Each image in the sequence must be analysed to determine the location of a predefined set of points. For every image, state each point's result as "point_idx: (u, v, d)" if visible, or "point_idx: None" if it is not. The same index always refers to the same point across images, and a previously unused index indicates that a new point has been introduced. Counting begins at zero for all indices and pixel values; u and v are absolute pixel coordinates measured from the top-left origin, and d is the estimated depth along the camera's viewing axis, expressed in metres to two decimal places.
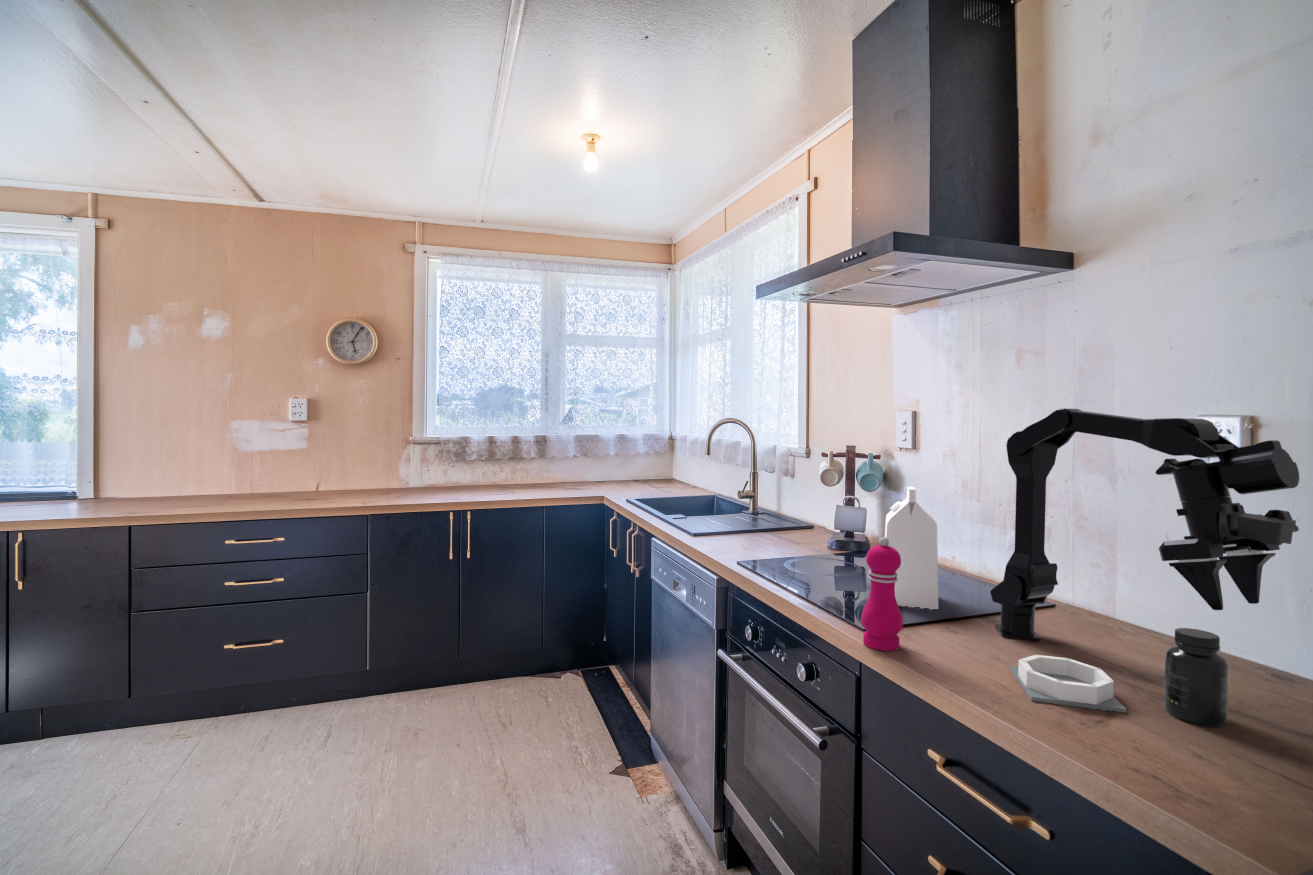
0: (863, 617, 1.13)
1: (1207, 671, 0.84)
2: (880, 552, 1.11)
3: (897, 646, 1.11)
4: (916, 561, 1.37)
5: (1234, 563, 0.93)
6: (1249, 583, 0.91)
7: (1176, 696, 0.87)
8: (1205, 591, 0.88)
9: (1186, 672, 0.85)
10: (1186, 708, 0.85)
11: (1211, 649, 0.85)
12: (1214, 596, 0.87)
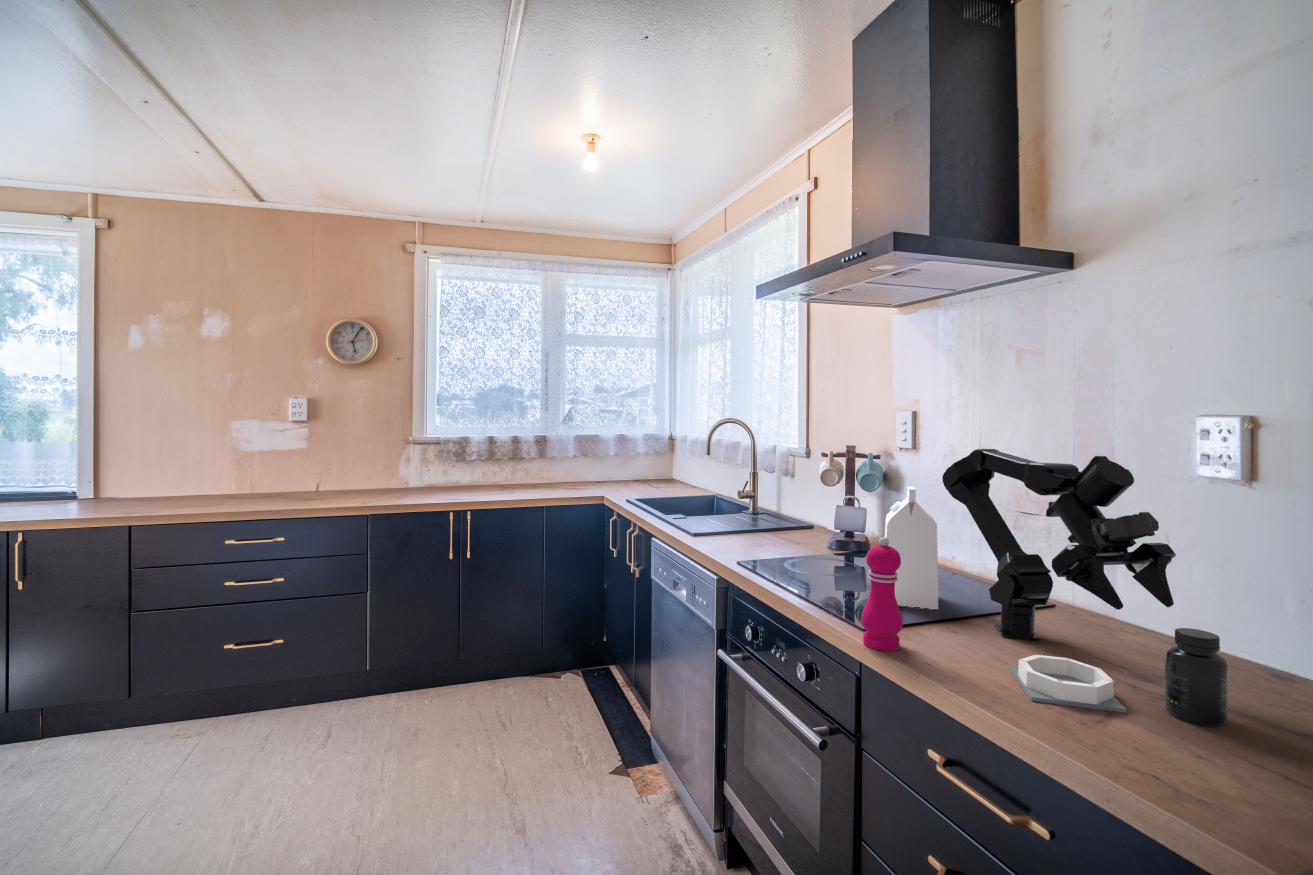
0: (863, 617, 1.13)
1: (1207, 671, 0.84)
2: (880, 552, 1.11)
3: (897, 646, 1.11)
4: (916, 561, 1.37)
5: (1143, 576, 1.00)
6: (1159, 588, 0.97)
7: (1176, 696, 0.87)
8: (1104, 594, 0.96)
9: (1186, 672, 0.85)
10: (1186, 708, 0.85)
11: (1211, 649, 0.85)
12: (1110, 595, 0.95)
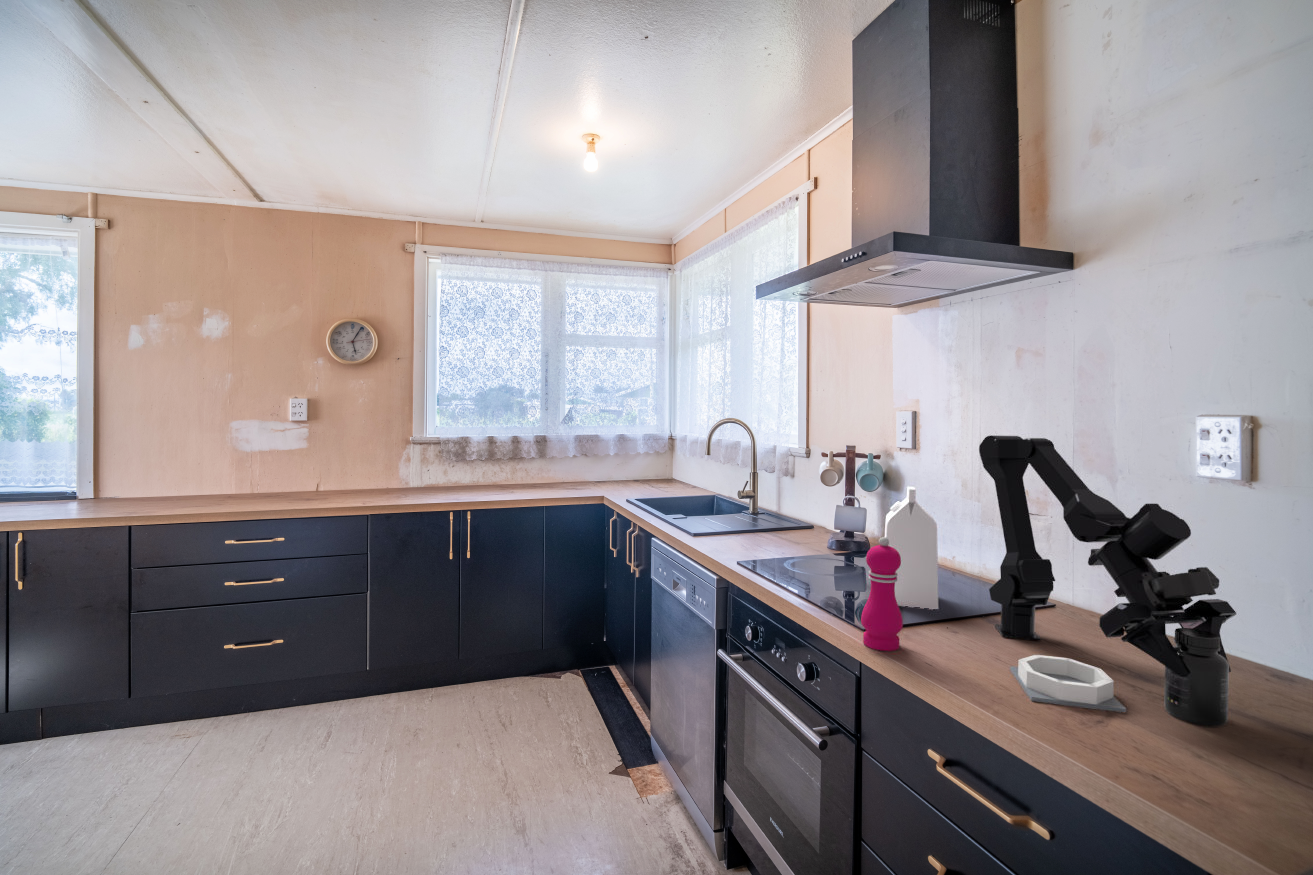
0: (863, 617, 1.13)
1: (1207, 671, 0.84)
2: (880, 552, 1.11)
3: (897, 646, 1.11)
4: (916, 561, 1.37)
5: None
6: None
7: (1176, 696, 0.87)
8: (1166, 659, 0.87)
9: None
10: (1186, 707, 0.85)
11: (1211, 649, 0.85)
12: (1173, 661, 0.86)
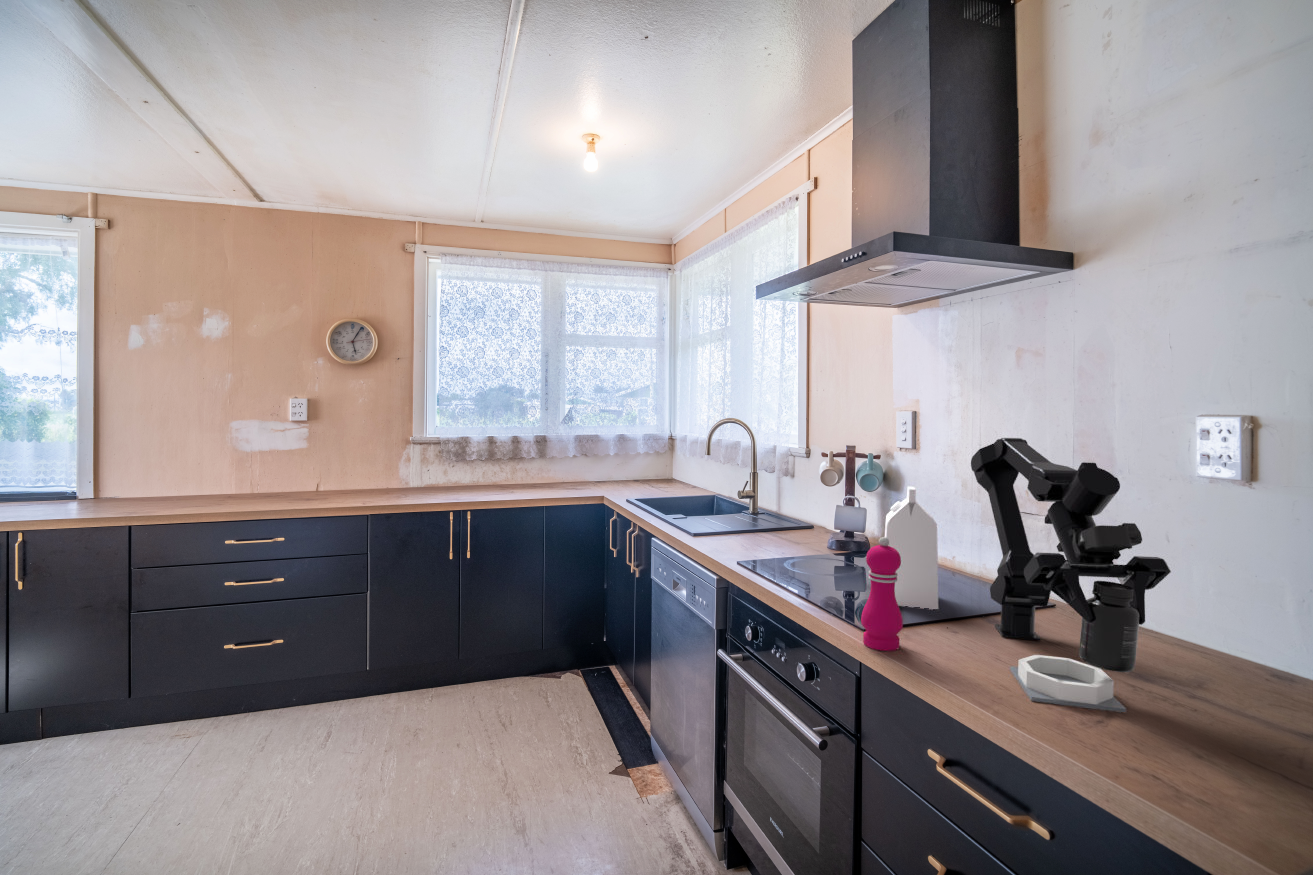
0: (863, 617, 1.13)
1: (1110, 617, 0.89)
2: (880, 552, 1.11)
3: (897, 646, 1.11)
4: (916, 561, 1.37)
5: None
6: (1134, 604, 0.92)
7: (1084, 640, 0.92)
8: (1077, 605, 0.93)
9: None
10: (1090, 651, 0.91)
11: (1119, 599, 0.89)
12: (1081, 607, 0.92)
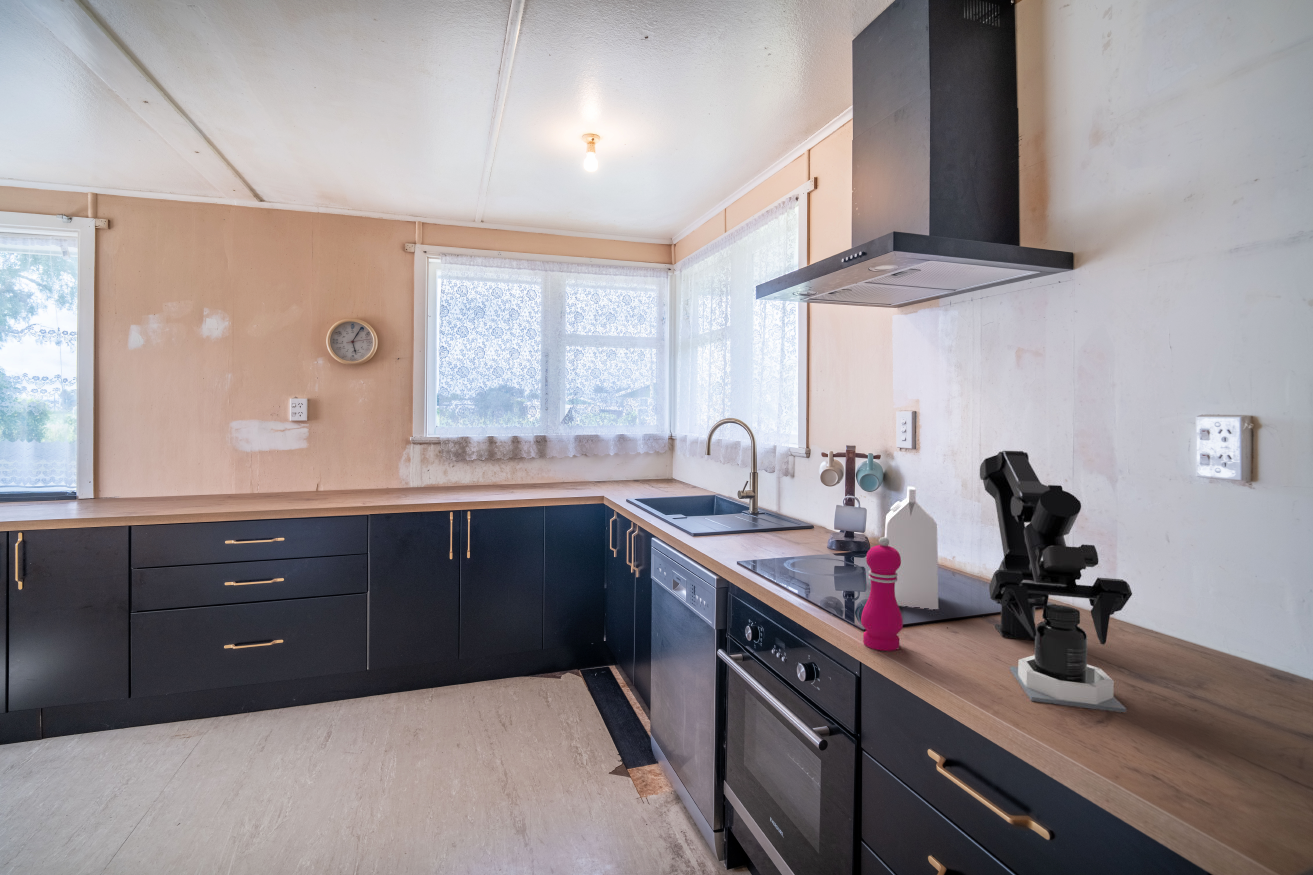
0: (863, 617, 1.13)
1: (1054, 640, 0.93)
2: (880, 552, 1.11)
3: (897, 646, 1.11)
4: (916, 561, 1.37)
5: (1094, 611, 0.97)
6: (1099, 624, 0.94)
7: (1035, 662, 0.96)
8: (1025, 621, 0.97)
9: (1040, 640, 0.95)
10: (1040, 672, 0.95)
11: (1062, 622, 0.93)
12: (1027, 622, 0.96)
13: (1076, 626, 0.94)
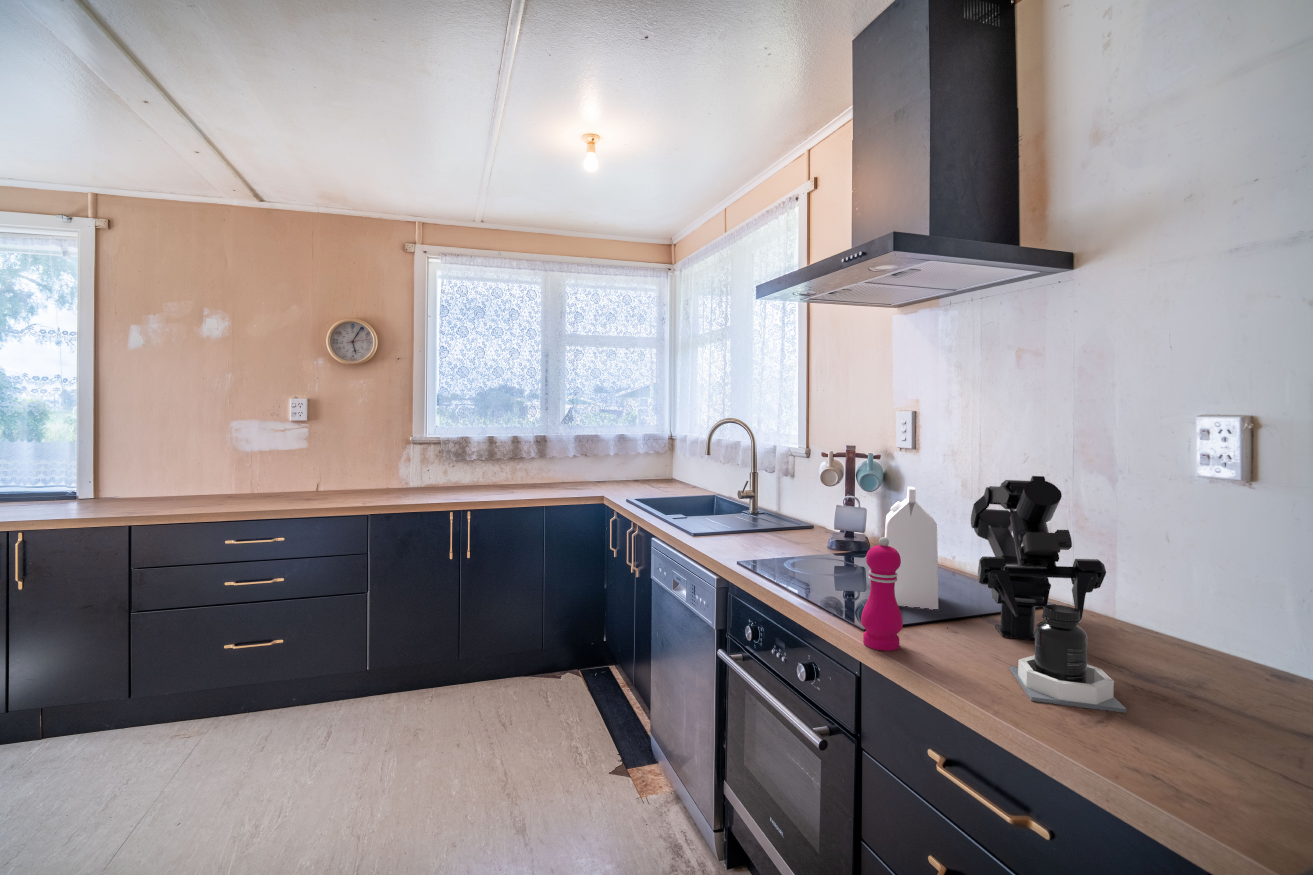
0: (863, 617, 1.13)
1: (1054, 640, 0.93)
2: (880, 552, 1.11)
3: (897, 646, 1.11)
4: (916, 560, 1.37)
5: (1074, 590, 1.06)
6: (1076, 602, 1.03)
7: (1035, 662, 0.96)
8: (1008, 602, 1.07)
9: (1040, 640, 0.95)
10: (1040, 672, 0.95)
11: (1062, 622, 0.93)
12: (1010, 603, 1.06)
13: (1076, 626, 0.94)
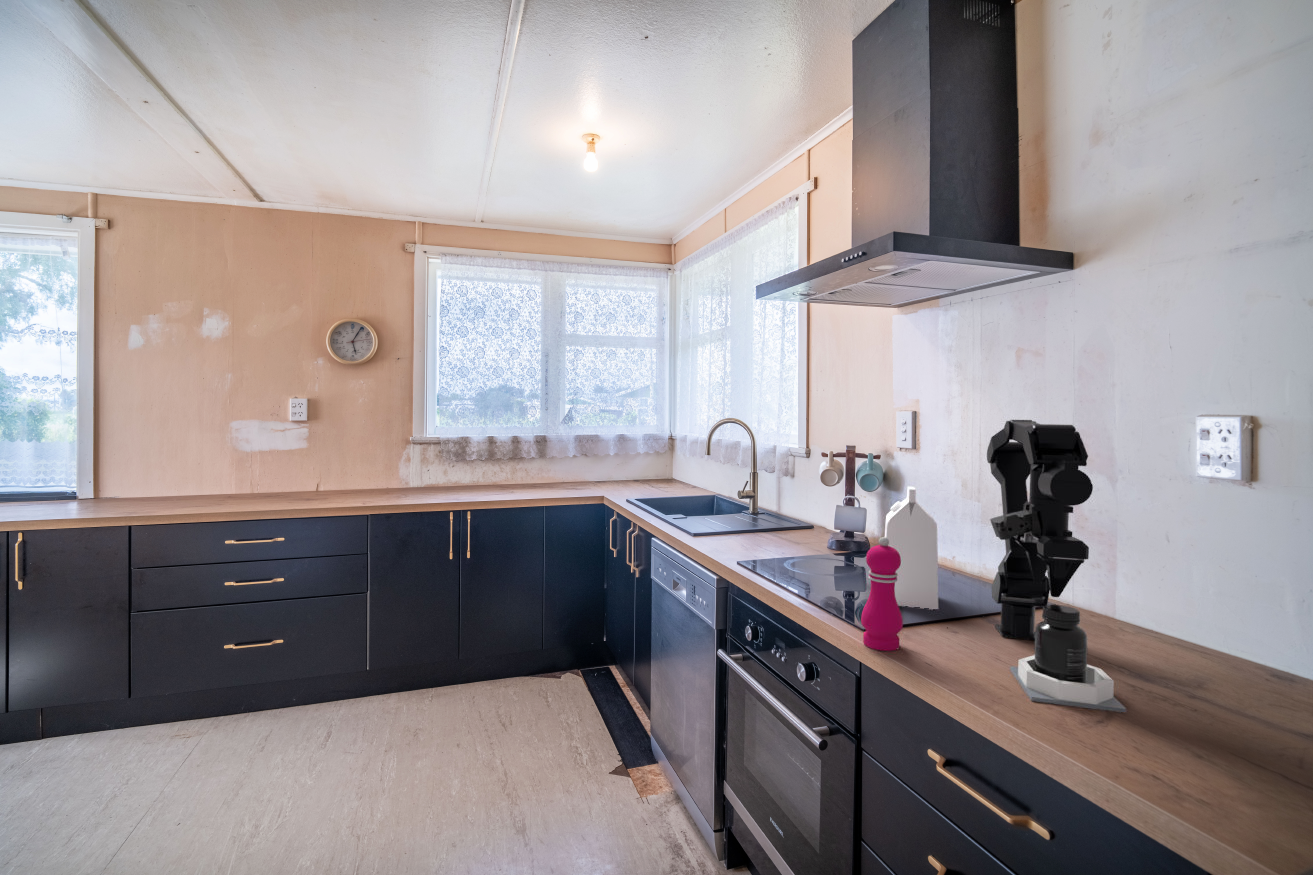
0: (863, 617, 1.13)
1: (1054, 640, 0.93)
2: (880, 552, 1.11)
3: (897, 646, 1.11)
4: (916, 560, 1.37)
5: None
6: None
7: (1035, 662, 0.96)
8: None
9: (1040, 640, 0.95)
10: (1040, 672, 0.95)
11: (1062, 622, 0.93)
12: None
13: (1076, 626, 0.94)
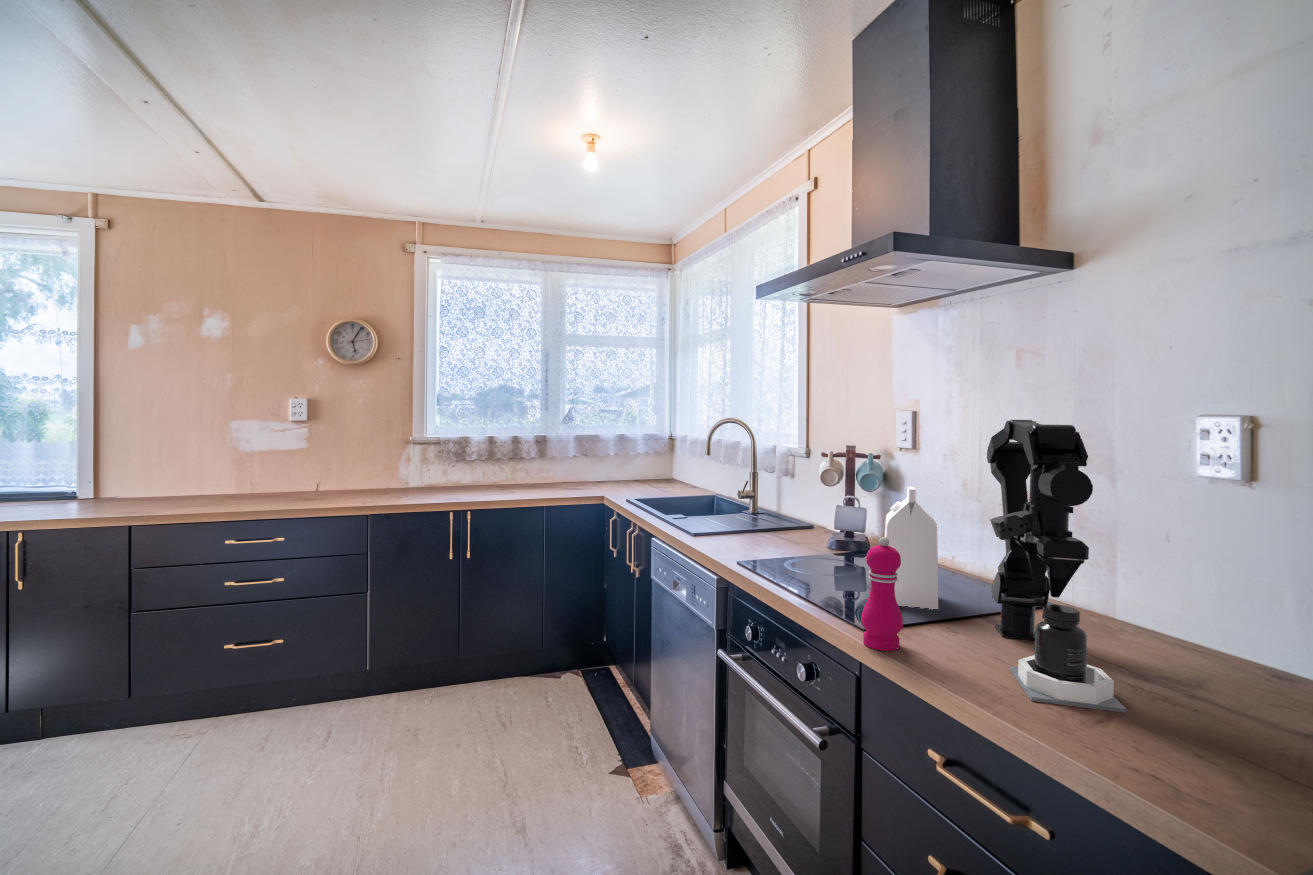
0: (863, 617, 1.13)
1: (1054, 640, 0.93)
2: (880, 552, 1.11)
3: (897, 646, 1.11)
4: (916, 560, 1.37)
5: None
6: None
7: (1035, 662, 0.96)
8: None
9: (1040, 640, 0.95)
10: (1040, 672, 0.95)
11: (1062, 622, 0.93)
12: None
13: (1076, 626, 0.94)
